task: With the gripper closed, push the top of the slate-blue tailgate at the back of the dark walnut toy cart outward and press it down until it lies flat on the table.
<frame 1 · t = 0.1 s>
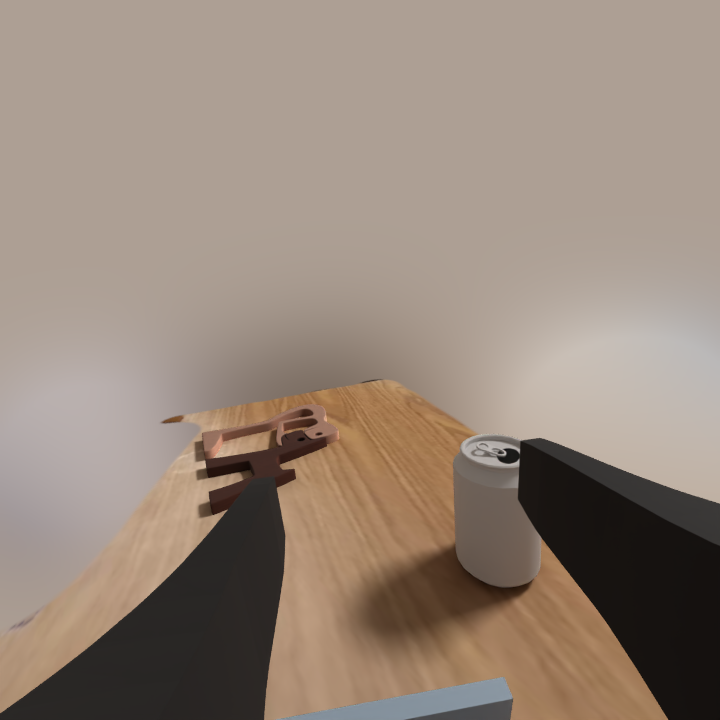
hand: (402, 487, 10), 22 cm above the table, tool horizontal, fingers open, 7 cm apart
can: (496, 563, 35), on the table
wood carving: (280, 451, 63), on the table
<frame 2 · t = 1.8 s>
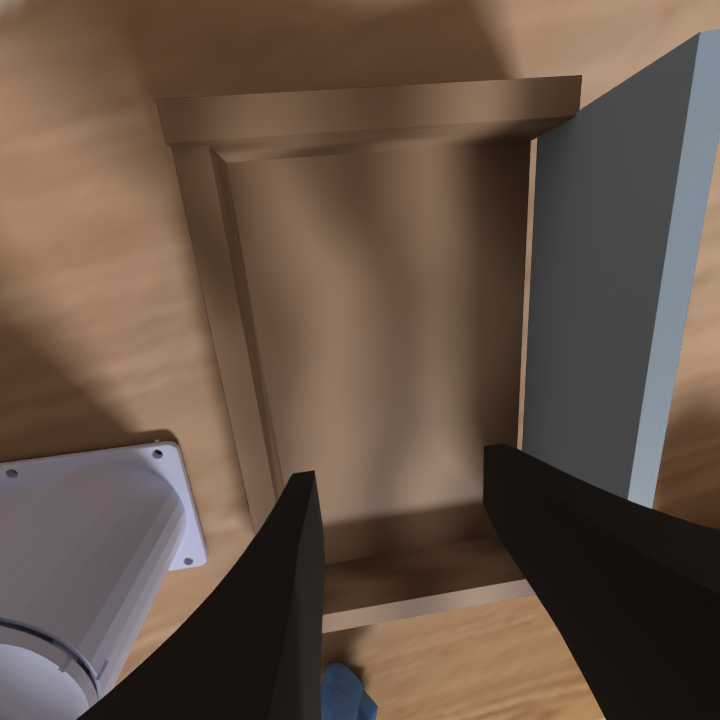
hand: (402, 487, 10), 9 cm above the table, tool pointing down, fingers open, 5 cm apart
tailgate: (576, 399, 15), point 6 cm above the table, hinge at -8.0°, touching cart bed
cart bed: (381, 376, 19), on the table
grapes: (362, 678, 26), on the table
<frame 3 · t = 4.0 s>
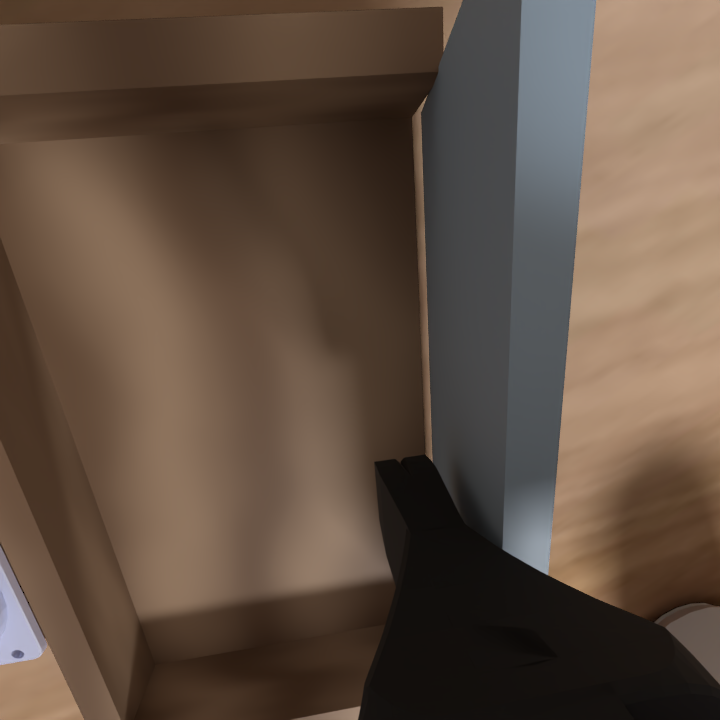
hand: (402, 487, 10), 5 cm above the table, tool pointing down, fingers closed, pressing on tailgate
tailgate: (467, 481, 10), point 6 cm above the table, hinge at -8.0°, touching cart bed, gripper
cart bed: (250, 426, 15), on the table
can: (678, 636, 22), on the table
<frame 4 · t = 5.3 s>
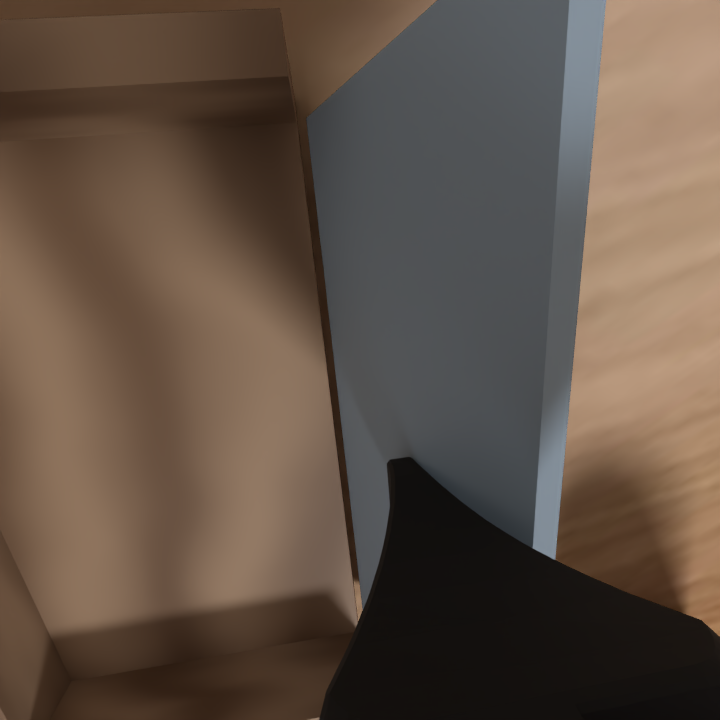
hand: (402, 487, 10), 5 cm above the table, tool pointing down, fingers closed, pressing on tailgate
tailgate: (417, 479, 11), point 5 cm above the table, hinge at 24.6°, touching gripper
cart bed: (162, 438, 15), on the table
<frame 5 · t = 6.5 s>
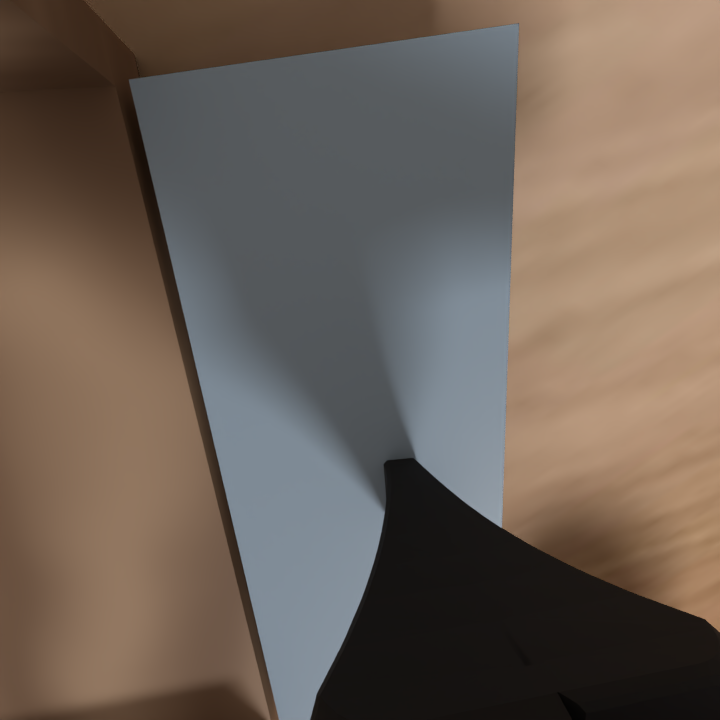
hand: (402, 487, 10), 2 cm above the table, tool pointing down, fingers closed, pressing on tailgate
tailgate: (360, 483, 11), point 2 cm above the table, hinge at 80.0°, touching gripper
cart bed: (6, 498, 12), on the table
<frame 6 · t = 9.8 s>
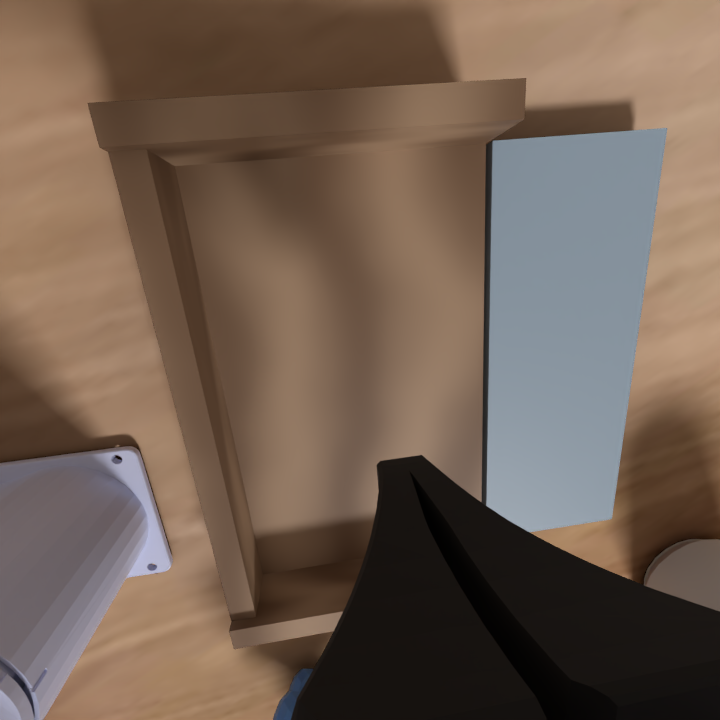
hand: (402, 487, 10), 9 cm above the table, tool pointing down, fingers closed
tailgate: (558, 361, 19), point 1 cm above the table, hinge at 89.6°
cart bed: (344, 381, 19), on the table
can: (678, 569, 27), on the table
grapes: (335, 683, 26), on the table
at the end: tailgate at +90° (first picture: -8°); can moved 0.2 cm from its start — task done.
